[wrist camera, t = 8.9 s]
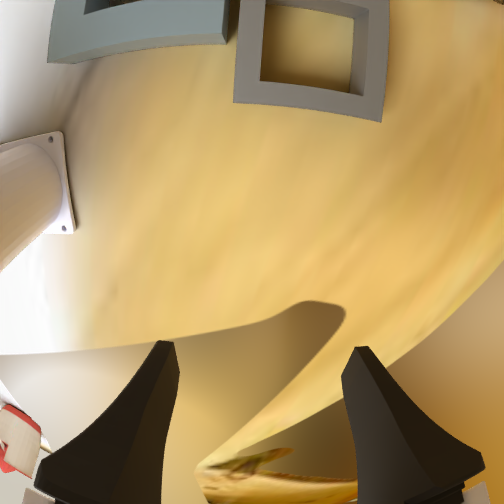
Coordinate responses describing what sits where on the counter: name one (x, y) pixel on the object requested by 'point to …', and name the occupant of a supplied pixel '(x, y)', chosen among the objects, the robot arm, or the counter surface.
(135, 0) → the steel pin
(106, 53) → the socket block
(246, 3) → the pin mount
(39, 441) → the citrus juicer
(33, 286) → the counter surface
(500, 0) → the cup
